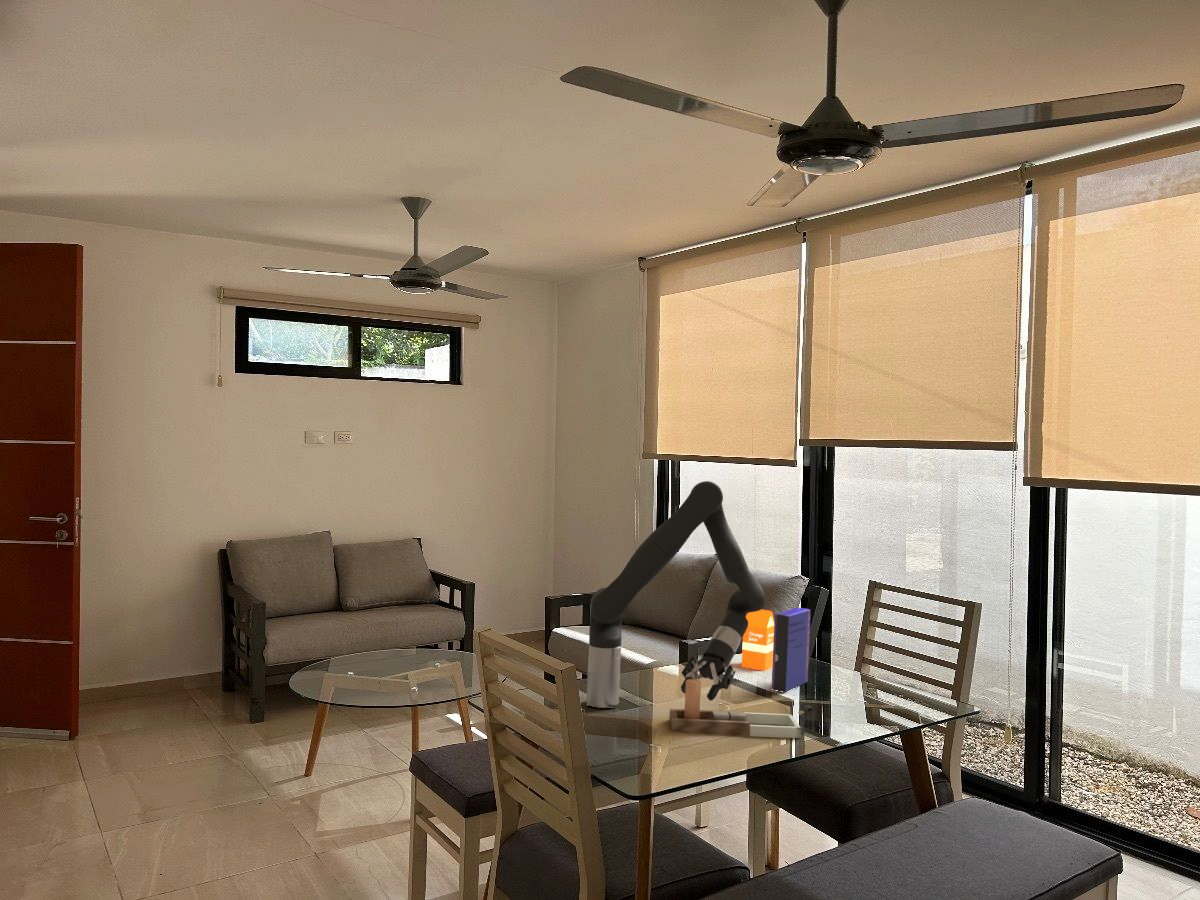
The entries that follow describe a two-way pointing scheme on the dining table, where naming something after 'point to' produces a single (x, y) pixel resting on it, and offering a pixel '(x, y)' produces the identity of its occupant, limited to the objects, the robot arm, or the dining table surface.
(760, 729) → the tray
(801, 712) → the tomahawk
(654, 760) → the dining table surface
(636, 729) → the dining table surface
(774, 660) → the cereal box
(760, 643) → the orange juice
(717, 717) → the light grey cube
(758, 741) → the dining table surface
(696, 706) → the orange rounded cylinder
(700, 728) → the slot board
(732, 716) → the gray cube
